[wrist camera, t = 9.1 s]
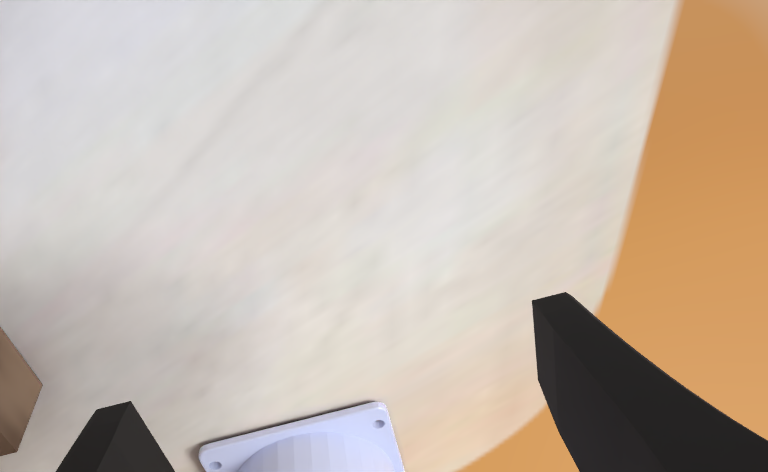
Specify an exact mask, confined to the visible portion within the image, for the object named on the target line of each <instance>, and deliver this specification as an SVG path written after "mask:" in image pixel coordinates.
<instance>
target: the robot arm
mask: <svg viewBox="0 0 768 472" xmlns="http://www.w3.org/2000/svg"><path fill="white" fill-rule="evenodd" d="M532 306H533V320H534V333H535V346H536V359H537V372H538V381H539V383H540V386H541V388H542V391H543V394H544V396H545V399H546V401H547V404H548V407H549V409H550V412H551V414H552V416H553V419H554V421H555V424H556V426H557V429H558V431H559V433H560V435H561V437H562V439H563V441H564V443H565V445H566V447H567V448H568V450H569V452H570V454H571V456H572V458H573V460H574V462H575V463H576V465H577V467H578V469H579V471H580V472H768V441H767V440H766V439H764V438H762V437H761V436H759V435H757V434H756V433H754V432H752V431H751V430H749V429H747V428H746V427H744V426H743V425H741V424H739V423H738V422H736V421H734V420H733V419H731V418H730V417H728V416H727V415H725V414H724V413H722V412H721V411H719V410H718V409H716V408H715V407H713V406H712V405H710V404H709V403H707V402H706V401H704V400H703V399H701V398H700V397H699V396H697V395H696V394H694V393H693V392H691V391H690V390H688V389H686V388H685V387H684V386H683V385H681V384H680V383H679V382H677V381H676V380H675V379H673V378H672V377H670V376H669V375H668V374H666V373H665V372H664V371H662V370H661V369H660V368H658V367H657V366H656V365H655V364H653V363H652V362H651V361H649V360H648V359H647V358H645V357H644V356H643V355H641V354H640V353H639V352H637V351H636V350H635V349H634V348H633V347H631V346H630V345H629V344H627V343H626V342H625V341H624V340H623V339H621V338H620V337H619V336H618V335H616V334H615V333H614V332H613V331H612V330H611V329H609V328H608V327H607V326H606V325H605V324H603V323H602V322H601V321H600V320H599V319H598V318H596V317H595V316H594V315H593V314H592V313H591V312H589V311H588V310H587V309H586V308H585V307H584V306H583V305H581V304H580V303H579V302H578V301H577V300H576V299H575V298H574V297H573V296H571V295H570V294H568V293H566V292H564V293H560V294H556V295H552V296H548V297H544V298H540V299H536V300H532ZM377 420H379V421H377ZM199 461H200V462H201V464H202V466H203V468H204V469H205V471H206V472H405V470H404V466H403V463H402V459H401V456H400V452H399V449H398V445H397V441H396V438H395V434H394V431H393V427H392V424H391V420H390V417H389V413H388V410H387V407H386V405H385V404H383V403H382V402H371V403H367V404H363V405H360V406H356V407H352V408H348V409H344V410H340V411H336V412H332V413H328V414H324V415H320V416H316V417H312V418H308V419H304V420H300V421H296V422H292V423H288V424H284V425H280V426H276V427H272V428H268V429H264V430H260V431H256V432H252V433H248V434H245V435H241V436H237V437H233V438H229V439H225V440H221V441H217V442H213V443H209V444H206V445H204V446H202V447H201V448H200V450H199ZM216 461H217V462H216ZM56 472H175V471H174V469H173V468H172V466H171V464H170V463H169V461H168V460H167V458H166V457H165V455H164V453H163V452H162V450H161V449H160V447H159V445H158V444H157V442H156V441H155V439H154V437H153V436H152V434H151V433H150V431H149V429H148V428H147V426H146V425H145V423H144V421H143V420H142V418H141V417H140V415H139V413H138V412H137V410H136V409H135V407H134V405H133V404H132V402H131V401H129V402H125V403H121V404H117V405H113V406H109V407H105V408H101V409H97V410H96V411H95V413H94V414H93V416H92V417H91V418H90V420H89V421H88V423H87V424H86V426H85V427H84V429H83V430H82V432H81V434H80V435H79V437H78V438H77V440H76V441H75V443H74V444H73V446H72V447H71V449H70V450H69V452H68V454H67V455H66V457H65V458H64V460H63V461H62V463H61V464H60V466H59V467H58V469H57V470H56Z"/></svg>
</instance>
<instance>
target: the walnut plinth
mask: <svg viewBox="0 0 768 472" xmlns="http://www.w3.org/2000/svg"><path fill="white" fill-rule="evenodd" d="M41 388H42V383H41V382H40V381H39V379H38V378H37V377H36V375H35V374H34V372H33V371H32V370H31V368H30V367H29V366H28V364H27V363H26V361H25V360H24V359H23V357H22V356H21V355H20V353H19V352H18V351H17V349H16V348H15V346H14V345H13V344H12V342H11V341H10V340H9V338H8V337H7V335H6V334H5V333H4V331H3V330H2V329H1V327H0V456H3V455H7V454H11V453H15V452H17V451H18V448H19V445H20V443H21V440H22V437H23V435H24V432H25V430H26V427H27V424H28V422H29V419H30V417H31V414H32V411H33V409H34V406H35V403H36V401H37V398H38V396H39V393H40V390H41Z"/></svg>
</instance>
